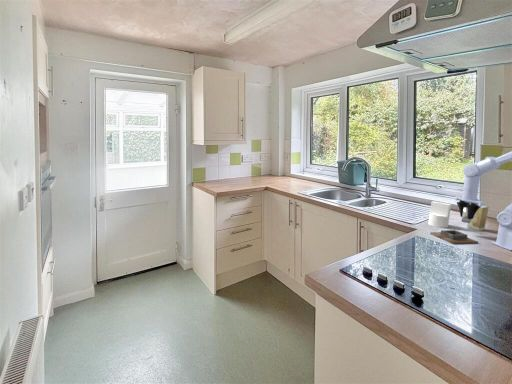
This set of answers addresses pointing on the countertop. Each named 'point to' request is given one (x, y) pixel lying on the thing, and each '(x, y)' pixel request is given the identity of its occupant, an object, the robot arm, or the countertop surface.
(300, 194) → the countertop surface
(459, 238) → the dock
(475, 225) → the skincare box
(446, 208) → the cylinder with rectangular tab
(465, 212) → the clear glass cylinder
